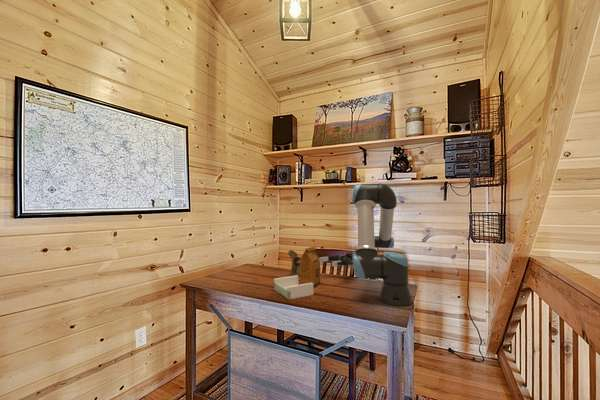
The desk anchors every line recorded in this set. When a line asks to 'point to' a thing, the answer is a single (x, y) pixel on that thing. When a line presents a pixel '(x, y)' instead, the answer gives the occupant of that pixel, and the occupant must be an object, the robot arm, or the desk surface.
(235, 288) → the desk surface
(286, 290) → the tray
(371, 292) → the desk surface
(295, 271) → the wooden mug
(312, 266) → the coffee package
